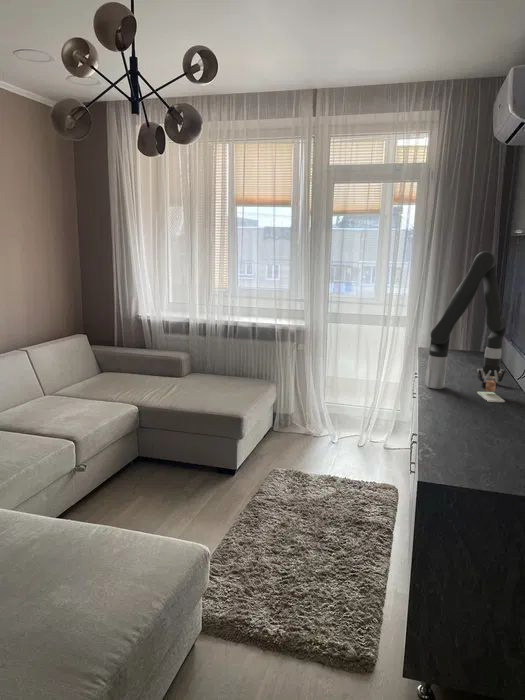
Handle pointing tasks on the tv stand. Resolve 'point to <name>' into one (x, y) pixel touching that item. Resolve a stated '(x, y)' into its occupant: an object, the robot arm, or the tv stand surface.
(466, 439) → the tv stand surface
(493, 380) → the lion figurine
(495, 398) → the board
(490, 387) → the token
